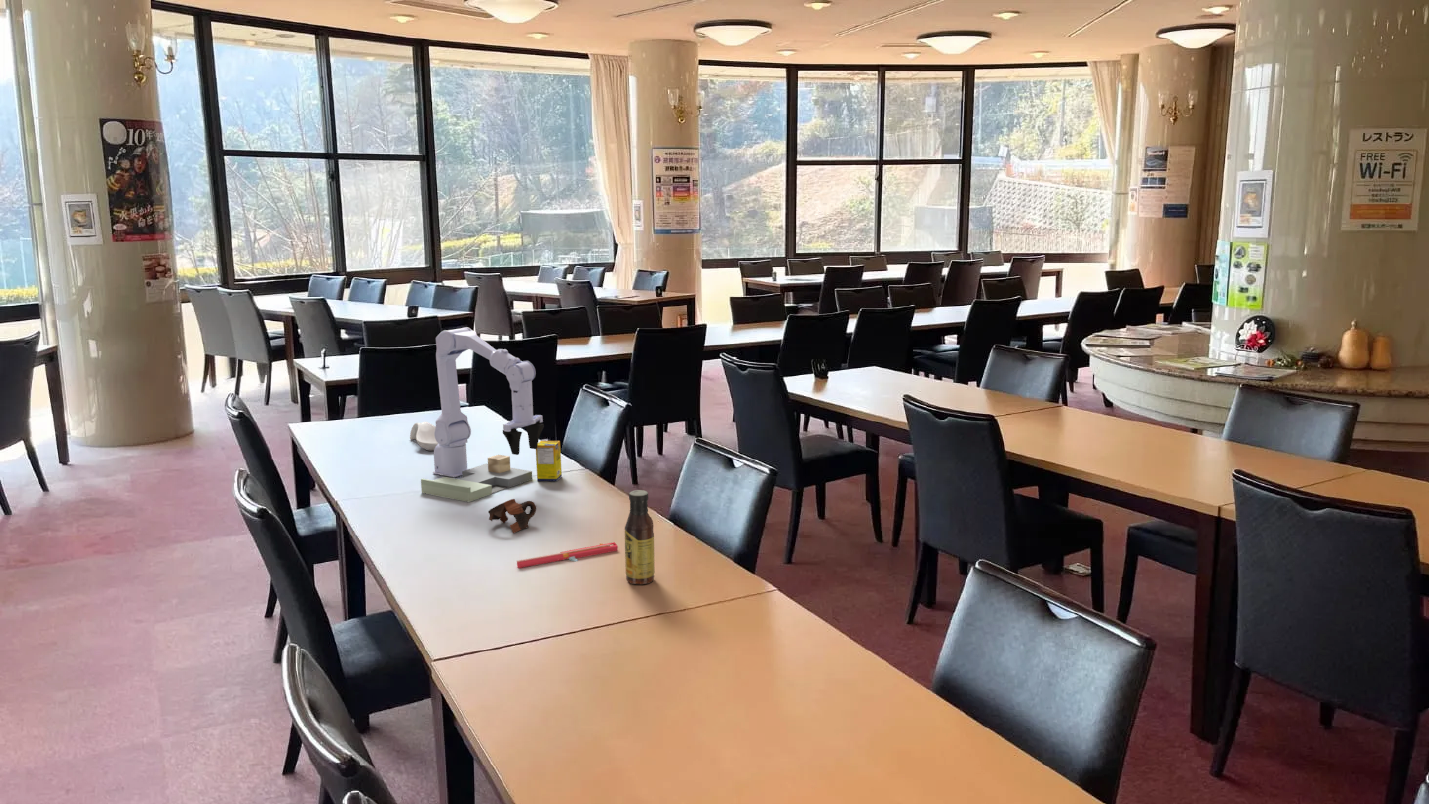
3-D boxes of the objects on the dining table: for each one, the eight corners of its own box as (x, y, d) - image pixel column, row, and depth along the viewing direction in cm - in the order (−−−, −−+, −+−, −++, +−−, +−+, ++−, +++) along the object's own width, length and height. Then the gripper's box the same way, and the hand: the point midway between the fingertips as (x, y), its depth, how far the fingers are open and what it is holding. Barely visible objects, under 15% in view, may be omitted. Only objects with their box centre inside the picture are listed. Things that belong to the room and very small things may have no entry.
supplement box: (562, 476, 301) (560, 440, 299) (556, 481, 295) (555, 445, 293) (542, 475, 301) (540, 440, 299) (536, 481, 295) (535, 445, 293)
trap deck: (421, 492, 285) (420, 479, 284) (486, 471, 307) (485, 458, 306) (469, 502, 276) (468, 487, 275) (532, 479, 298) (531, 466, 297)
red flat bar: (620, 557, 235) (612, 545, 239) (621, 549, 234) (613, 538, 238) (520, 576, 224) (513, 563, 228) (520, 568, 223) (514, 556, 227)
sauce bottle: (625, 575, 220) (623, 487, 216) (654, 574, 221) (652, 486, 217) (625, 587, 214) (623, 496, 210) (655, 586, 214) (653, 495, 211)
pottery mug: (504, 538, 247) (489, 508, 248) (495, 544, 255) (481, 515, 256) (547, 517, 253) (532, 488, 254) (537, 524, 261) (523, 496, 262)
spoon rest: (459, 449, 335) (458, 428, 334) (425, 455, 328) (423, 433, 327) (432, 437, 354) (430, 416, 352) (398, 442, 347) (397, 421, 345)
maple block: (488, 471, 297) (487, 457, 297) (498, 467, 301) (498, 454, 300) (499, 473, 295) (499, 459, 294) (510, 469, 299) (509, 456, 298)
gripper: (515, 410, 279) (518, 458, 281) (550, 401, 291) (551, 447, 294) (496, 408, 282) (498, 455, 285) (531, 399, 294) (533, 444, 297)
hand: (524, 451), depth 290 cm, fingers open, 7 cm apart
